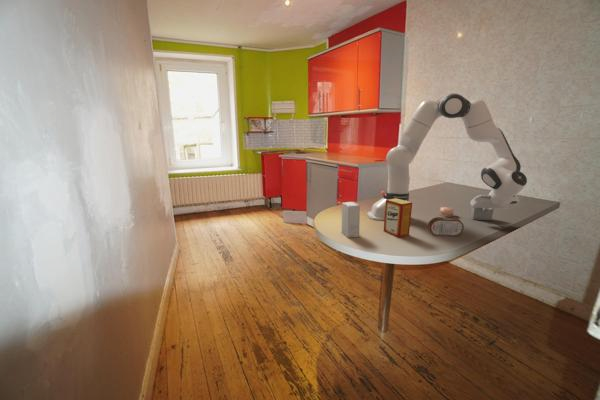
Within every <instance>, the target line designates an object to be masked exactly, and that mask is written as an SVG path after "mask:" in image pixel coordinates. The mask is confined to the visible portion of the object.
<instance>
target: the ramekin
mask: <svg viewBox="0 0 600 400" xmlns="http://www.w3.org/2000/svg"><path fill="white" fill-rule="evenodd" d="M454 210H455V209H454V208H453V207H448V206H441V207H439V216H440V217H445V218H454V212H455V211H454Z"/></svg>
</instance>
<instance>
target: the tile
mask: <svg viewBox="0 0 600 400" xmlns="http://www.w3.org/2000/svg"><path fill="white" fill-rule="evenodd" d="M493 214H494V209H491V210H489V211H483V210H482V208H472V207H471V212H470V219H471V220H474V221H475V220H479V221H480V220H481V221H482V220H483V221H484V220H485V221H491V220H493Z"/></svg>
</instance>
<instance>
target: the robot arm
mask: <svg viewBox="0 0 600 400" xmlns="http://www.w3.org/2000/svg"><path fill="white" fill-rule="evenodd" d="M440 117H445V118H448V119H457V118H461V120H462V121H463V125H464V128H465V131H466V134H467V136H468V137H469V139H471V140H472V141H474V142H478V143H479V142H480V143H481V142H482V143H483V142H484V143H485V142H486V143H489V144H490V145H491V146H492V147H493V149H494V152H495V153H496V155H497V161H495V162H493V163H491V164H489V165H487V166H486V167H484V168H482V170H481V171H480V178H481V180H482V182H483V183H484V184H485V185H486V186H488V187H489V188H491V189H492V190H490V192H489V193H488V194H479V195H477V196H475V197H473V198H472V199H471V200H470V203H469V204H470V207H471V209H472V208H482V210H483V211H489V210H491V209H493V210H494V209H512V208H514V207H515V206H517V204H519V203H520V198H519V196H518V194H520V192H521V191H523V189H524V188H525V187H526V185H527V182H528V179H527V176H526V174H525V173H523V172H521V167H522V166H521V162H520V161H519V160H518V158H517V157H516V156H515V154H514V152H513V151H512V149H511V146H510V144H509V142H508V140H507V138H506V136H505V134H504V132H503V131H502V129H500V128H499V127H497V126H496V124H495V122H494V120H493V117H492V114H491V111H490V110H489V108H488V106H487V104H486V102H485V100H483V99H472V100H468V99H466V98H465V97H464V96H463V95H461V94H460V93H454V92H452V93H449V94H448V93H447V94H446V95H444V96H443V97H441V98H440V99H438V100H437V101H436V100H431V99H425V100H423V101H421V103H420V104H419V105H418V106H417V108H416V109H415V110H414V112H413V113H412V115H411V116H410V119H409V120H408V122H407V124H406V126H405V127H404V129H403V131H402V134H401V137H400V139H399V142H398V144H397V146H394V147H393V148H391V149H390V150H388V151H387V154H386V157H385V159H386V164H387V176H388V178H387V191H385V190H381V193H380V194H381V195H382V198H380V199H379V200H378V201H376V202H375V203H373V204H372V207H371V210H370V211H369V210H368V211H367V217H368V218H370V219H371V220H375V221H384V219H385V206H386V200H388V199H394V198H397V199H401V200H405V201H409V200H410V193H409V189H410V181H411V178H410V167H409V166H410V165H411V163H412V162H413V161H414V159H415V157H416V156H417V154H418V152H419V151H420V148H421V145H422V144H423V142H424V140H425V139H426V137H427V135H428V134H429V133H430V132H429V131H430V130H431V129H432V127H433V125H434V123H435V122H436V121H437V119H438V118H440ZM409 202H410V201H409Z"/></svg>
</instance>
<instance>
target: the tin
mask: <svg viewBox="0 0 600 400" xmlns="http://www.w3.org/2000/svg"><path fill="white" fill-rule="evenodd" d="M464 227H465V226H464V222H462V221H461V220H460V219H459V218H457V217H444V216H440V217H439V216H438V217H437V216H436V217H434V218H432V219H431V220H430V221H429V222H428V224H427V229H428V230H429V232H430V233H431V234H433V235H434V236H440V237H441V236H442V237H457V236H459V235H460V234H462V233H463V231H464Z"/></svg>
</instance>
